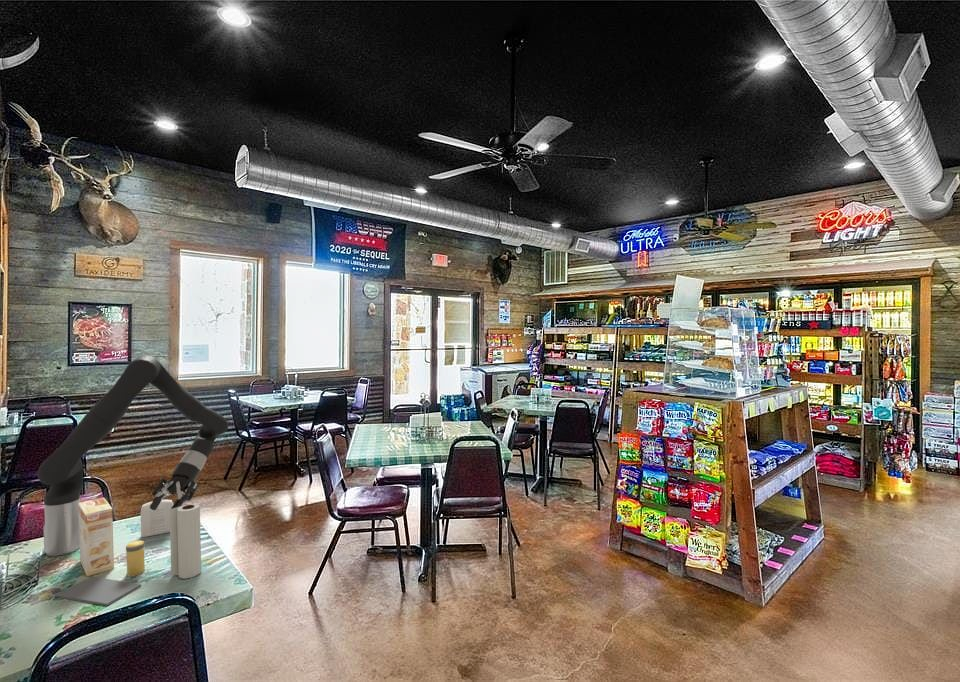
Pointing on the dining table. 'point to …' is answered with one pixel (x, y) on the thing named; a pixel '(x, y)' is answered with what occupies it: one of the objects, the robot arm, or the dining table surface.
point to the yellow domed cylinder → (135, 558)
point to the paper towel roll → (185, 540)
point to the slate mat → (98, 590)
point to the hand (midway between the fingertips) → (162, 510)
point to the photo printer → (155, 518)
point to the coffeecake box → (96, 536)
